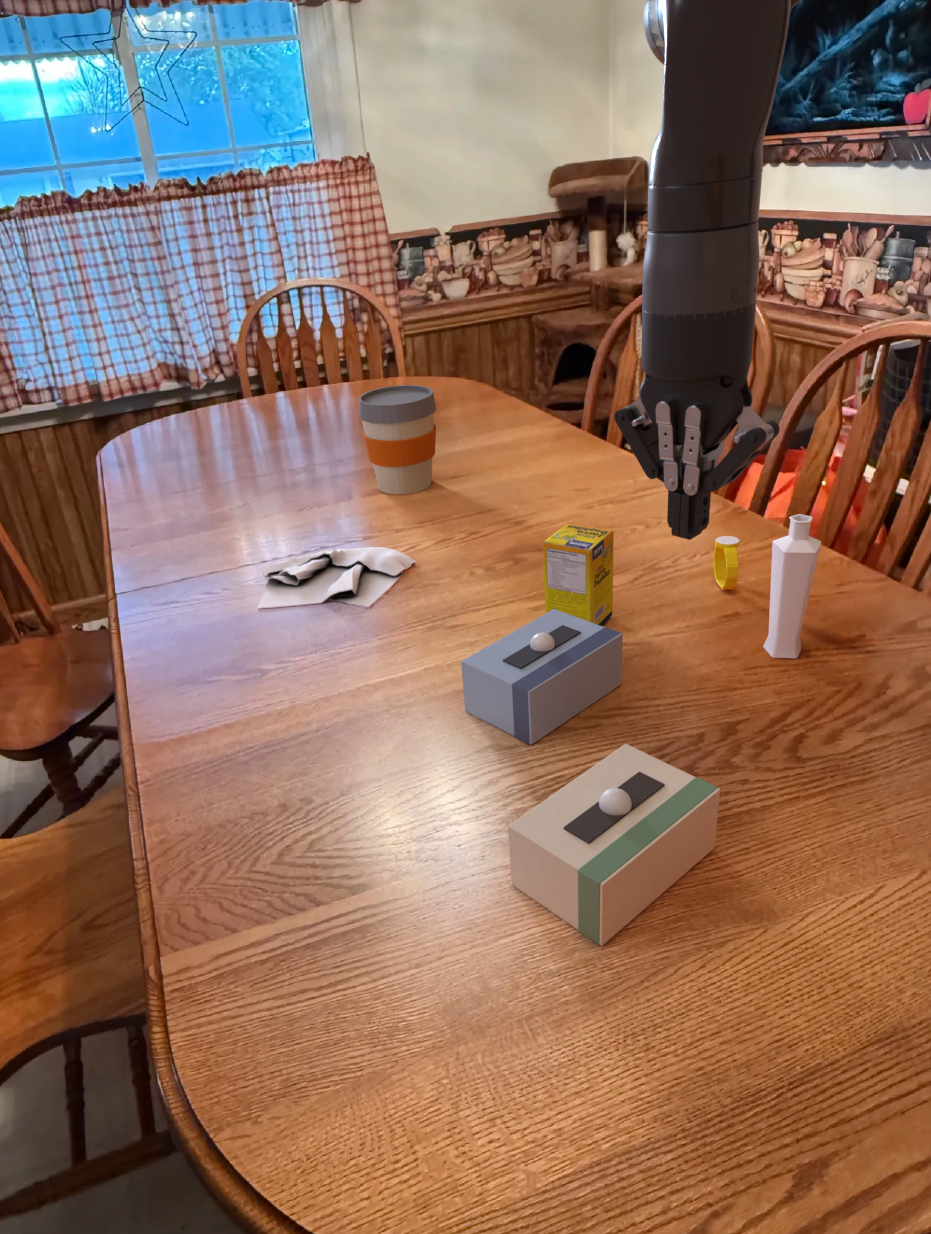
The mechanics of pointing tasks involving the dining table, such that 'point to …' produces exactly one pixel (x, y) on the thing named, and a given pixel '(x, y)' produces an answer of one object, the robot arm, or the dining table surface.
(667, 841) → the cream tissue box
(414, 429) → the reusable coffee cup
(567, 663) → the blue tissue box
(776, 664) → the dining table surface
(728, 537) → the watch
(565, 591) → the supplement box
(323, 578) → the cloth
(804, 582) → the perfume bottle
